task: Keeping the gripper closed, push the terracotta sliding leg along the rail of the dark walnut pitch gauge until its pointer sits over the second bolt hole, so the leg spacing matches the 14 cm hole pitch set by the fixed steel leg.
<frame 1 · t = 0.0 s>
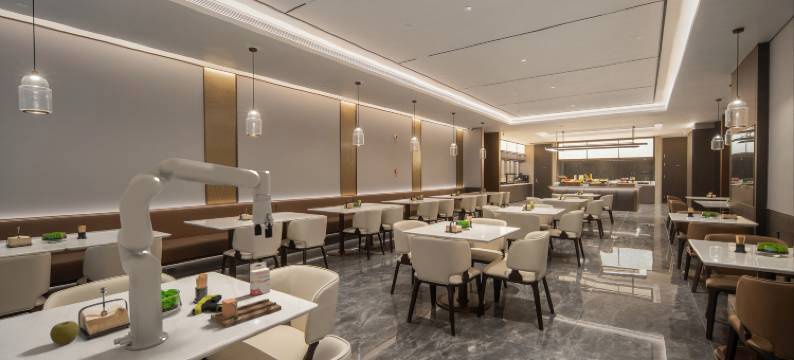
hand: (263, 236, 162), 31 cm above the table, tool pointing down, fingers open, 9 cm apart
sliding leg: (231, 309, 147), point 5 cm above the table, slide at 0.0 cm
pitch gauge: (247, 314, 154), on the table
stun gun: (215, 307, 164), on the table
apple: (65, 343, 131), on the table
ink cartridge box: (260, 293, 180), on the table
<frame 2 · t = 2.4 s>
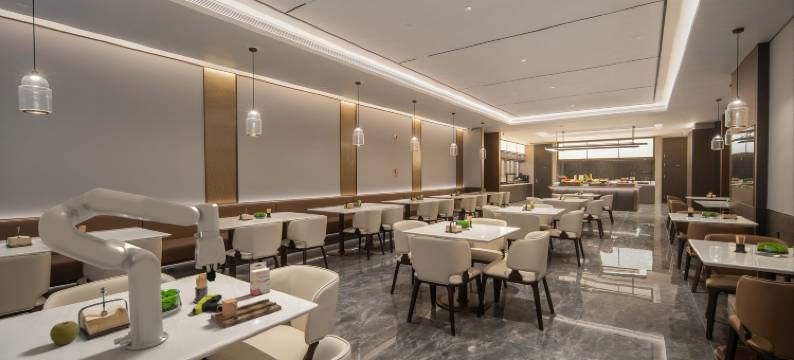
hand: (211, 280, 143), 18 cm above the table, tool pointing down, fingers closed
nothing on the table moved.
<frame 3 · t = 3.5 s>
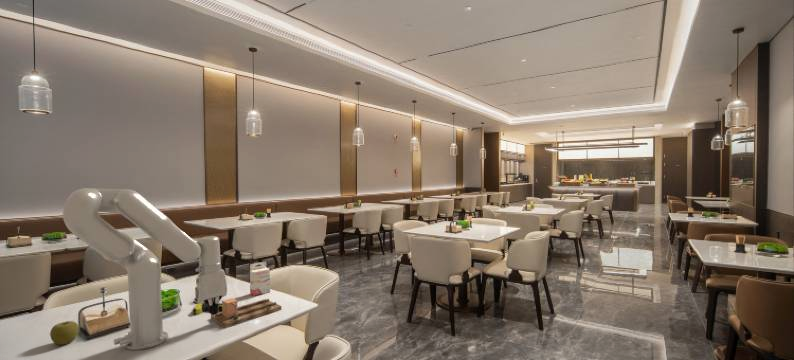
hand: (213, 313, 144), 4 cm above the table, tool pointing down, fingers closed
nothing on the table moved.
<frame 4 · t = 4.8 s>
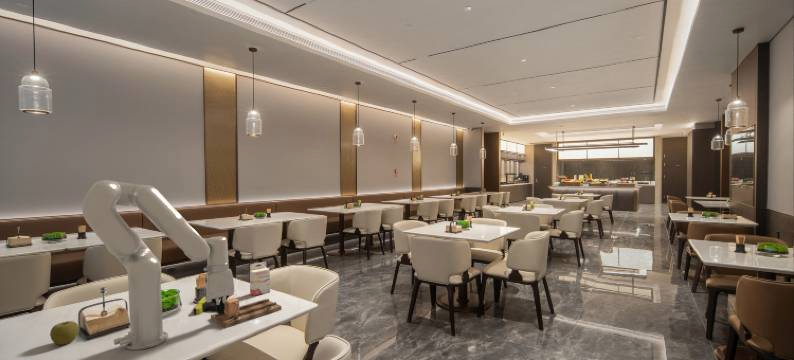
hand: (220, 313, 146), 4 cm above the table, tool pointing down, fingers closed
sliding leg: (233, 308, 148), point 5 cm above the table, slide at 0.8 cm, touching gripper
everything else where it was.
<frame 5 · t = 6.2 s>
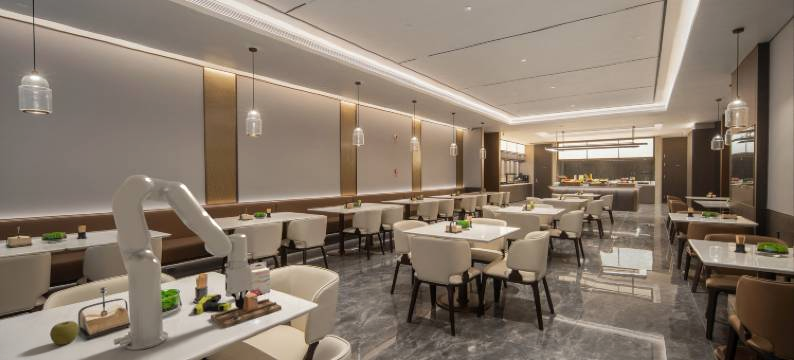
hand: (239, 307, 151), 4 cm above the table, tool pointing down, fingers closed
sliding leg: (252, 303, 153), point 5 cm above the table, slide at 8.6 cm, touching gripper
everything else where it was.
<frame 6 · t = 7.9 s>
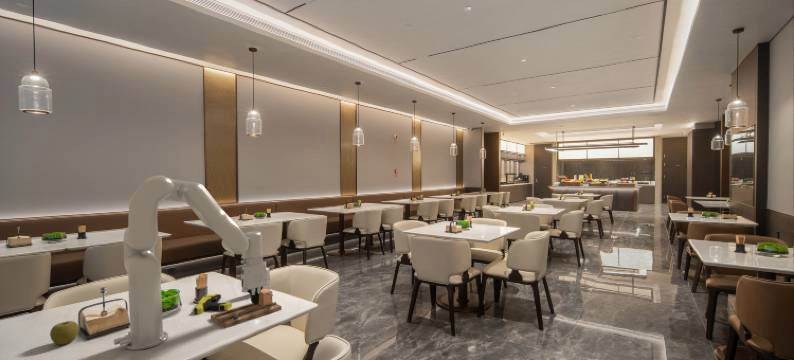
hand: (255, 302, 156), 4 cm above the table, tool pointing down, fingers closed
sliding leg: (267, 298, 158), point 5 cm above the table, slide at 15.3 cm, touching gripper
everything else where it was.
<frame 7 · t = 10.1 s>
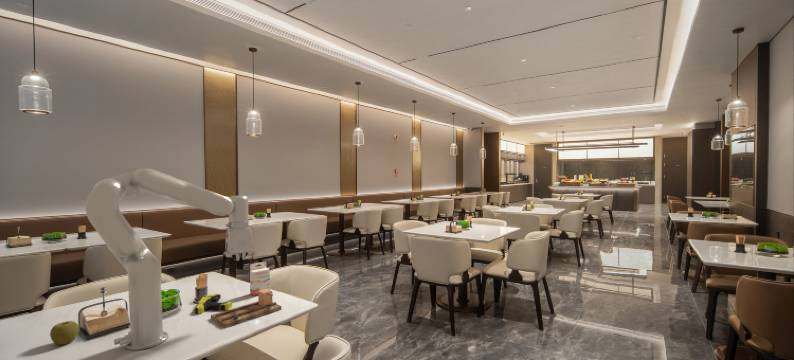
hand: (239, 269, 151), 20 cm above the table, tool pointing down, fingers closed
sliding leg: (267, 298, 158), point 5 cm above the table, slide at 15.3 cm
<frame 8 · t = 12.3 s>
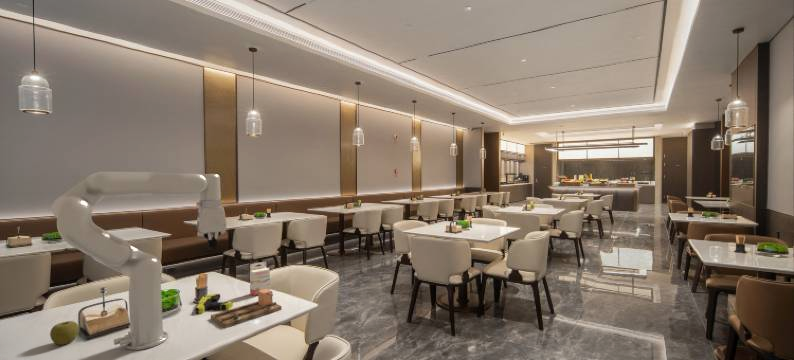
hand: (212, 248, 148), 29 cm above the table, tool pointing down, fingers closed
at the end: sliding leg slide at 15.3 cm; stun gun moved 1.6 cm from its start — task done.
